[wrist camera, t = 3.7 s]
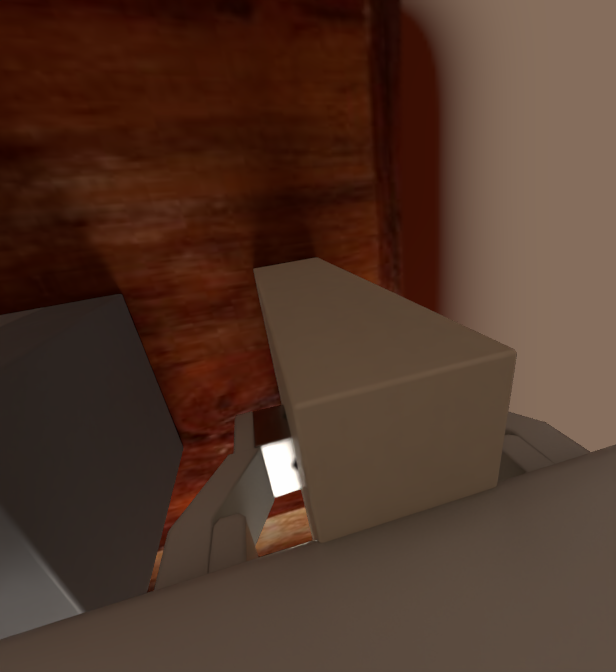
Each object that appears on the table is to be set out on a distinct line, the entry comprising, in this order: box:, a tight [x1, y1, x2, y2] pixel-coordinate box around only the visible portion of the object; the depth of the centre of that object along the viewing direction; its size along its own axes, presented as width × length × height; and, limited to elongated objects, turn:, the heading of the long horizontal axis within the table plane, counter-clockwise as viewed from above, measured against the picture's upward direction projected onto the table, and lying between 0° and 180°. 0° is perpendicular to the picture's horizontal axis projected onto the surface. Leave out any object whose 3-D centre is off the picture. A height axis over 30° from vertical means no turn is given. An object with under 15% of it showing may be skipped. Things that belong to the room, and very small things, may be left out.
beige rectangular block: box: [253, 257, 517, 543], centre depth 9 cm, size 8×3×10 cm, turn 8°
